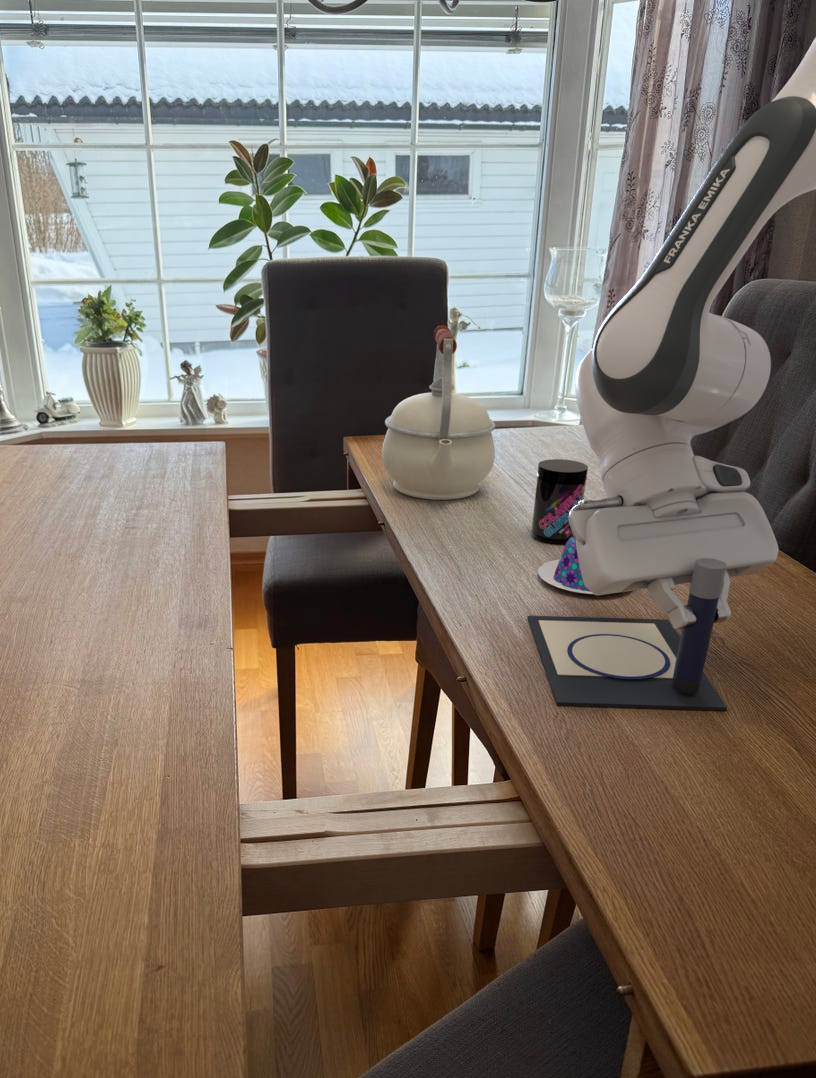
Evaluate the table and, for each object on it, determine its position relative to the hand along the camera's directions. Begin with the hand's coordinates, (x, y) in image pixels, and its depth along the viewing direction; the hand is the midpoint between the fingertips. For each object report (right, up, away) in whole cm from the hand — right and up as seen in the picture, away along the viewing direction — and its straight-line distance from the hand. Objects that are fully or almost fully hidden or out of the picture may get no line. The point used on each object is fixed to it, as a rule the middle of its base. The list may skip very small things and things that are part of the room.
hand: (703, 623), depth 86 cm
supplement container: (-3, +13, +45) cm, 47 cm away
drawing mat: (-5, -4, +10) cm, 12 cm away
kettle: (-18, +23, +65) cm, 71 cm away
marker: (0, -6, +4) cm, 7 cm away
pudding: (-3, +6, +30) cm, 31 cm away
